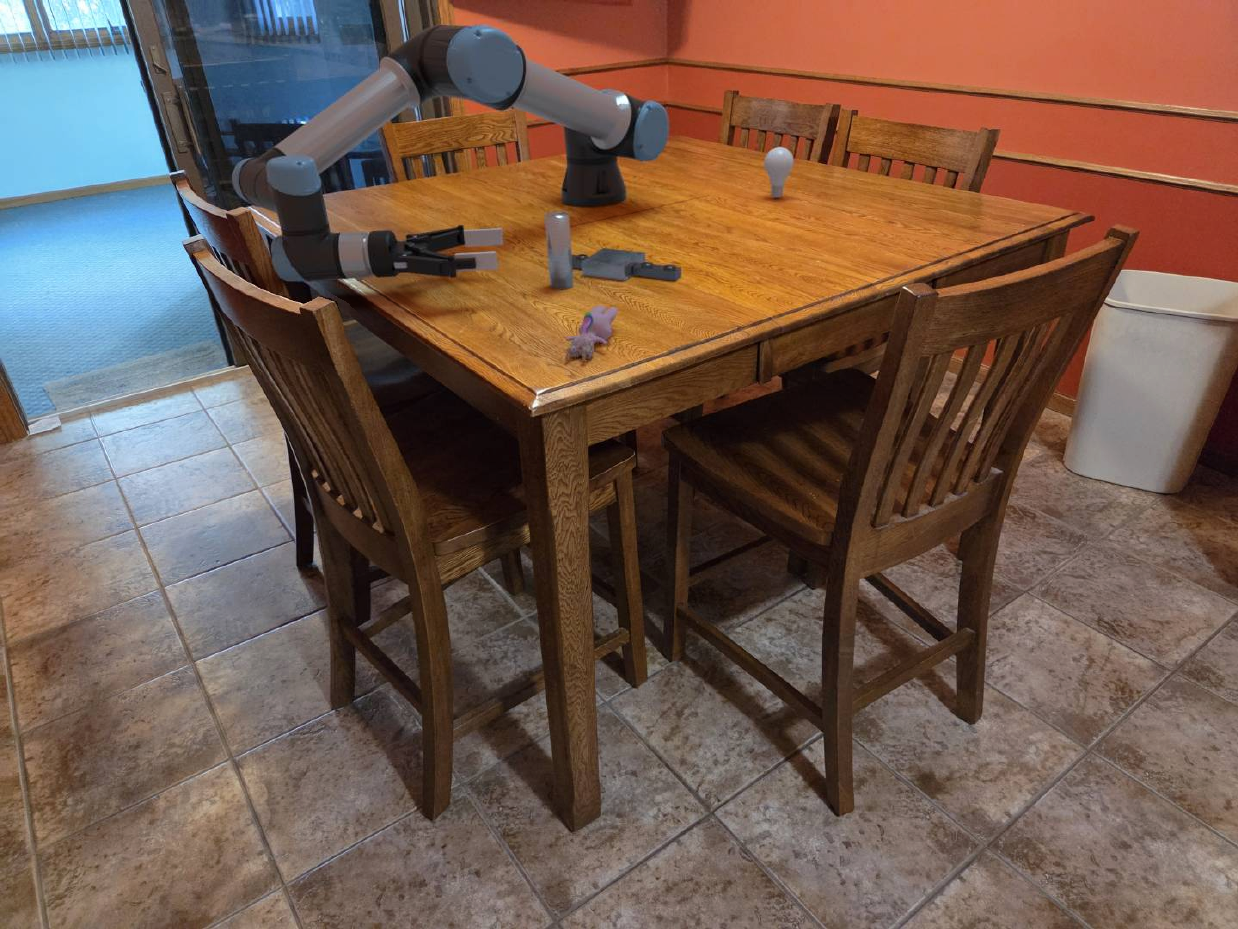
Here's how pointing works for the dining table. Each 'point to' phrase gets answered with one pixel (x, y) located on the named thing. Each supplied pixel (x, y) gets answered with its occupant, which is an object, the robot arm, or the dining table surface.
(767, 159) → the lightbulb
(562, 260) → the pin
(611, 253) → the grey mounting bracket
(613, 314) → the purple toy figure
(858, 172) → the dining table surface
